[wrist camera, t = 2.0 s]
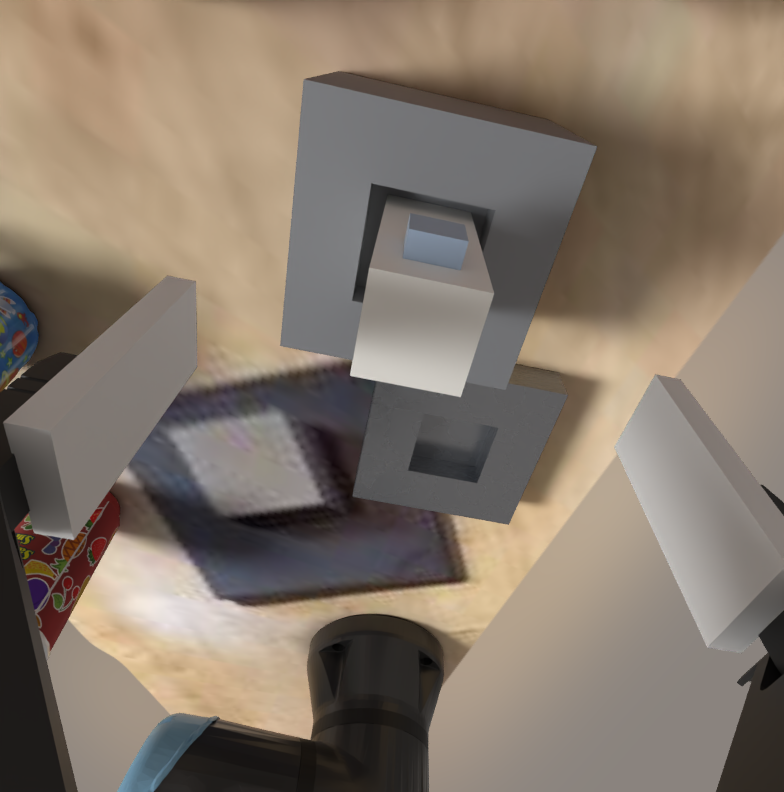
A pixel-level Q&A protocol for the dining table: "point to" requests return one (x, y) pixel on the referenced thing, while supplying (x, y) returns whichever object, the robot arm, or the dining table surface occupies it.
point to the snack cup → (15, 335)
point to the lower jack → (458, 444)
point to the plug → (423, 299)
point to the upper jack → (431, 183)
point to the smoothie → (64, 566)
